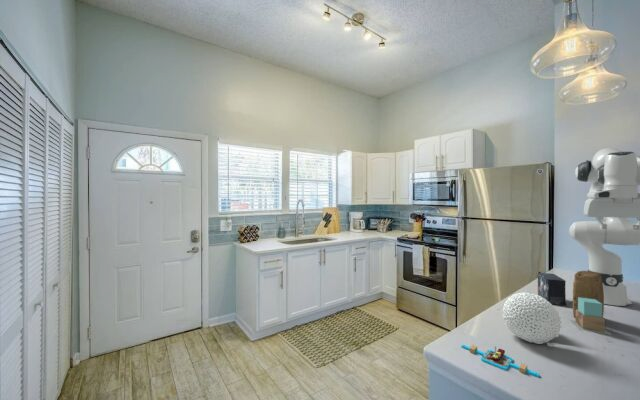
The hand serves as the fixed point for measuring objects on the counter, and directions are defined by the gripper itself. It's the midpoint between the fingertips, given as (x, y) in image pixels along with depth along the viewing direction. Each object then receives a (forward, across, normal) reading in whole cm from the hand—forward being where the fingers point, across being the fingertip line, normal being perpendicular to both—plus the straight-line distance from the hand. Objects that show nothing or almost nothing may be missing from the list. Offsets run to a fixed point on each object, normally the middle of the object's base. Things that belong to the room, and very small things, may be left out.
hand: (619, 229), depth 103 cm
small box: (+39, +14, -25) cm, 48 cm away
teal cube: (+32, +12, +8) cm, 35 cm away
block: (+38, +8, -2) cm, 39 cm away
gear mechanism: (+38, +47, +46) cm, 76 cm away
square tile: (+38, +12, +8) cm, 40 cm away
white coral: (+38, +35, +24) cm, 57 cm away
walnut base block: (+37, +12, +8) cm, 39 cm away
